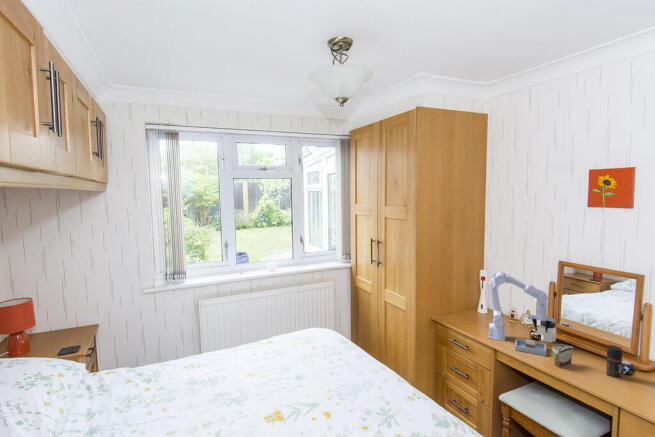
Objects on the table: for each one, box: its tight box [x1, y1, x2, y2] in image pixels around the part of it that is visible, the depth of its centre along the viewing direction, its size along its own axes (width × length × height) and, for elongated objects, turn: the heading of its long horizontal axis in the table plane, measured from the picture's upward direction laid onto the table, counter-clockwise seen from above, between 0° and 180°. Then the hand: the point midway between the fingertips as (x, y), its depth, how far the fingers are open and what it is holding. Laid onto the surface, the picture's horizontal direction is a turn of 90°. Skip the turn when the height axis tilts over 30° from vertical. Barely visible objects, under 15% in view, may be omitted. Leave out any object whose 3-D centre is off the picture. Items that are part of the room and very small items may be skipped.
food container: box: [551, 343, 574, 369], centre depth 186 cm, size 12×6×10 cm, turn 111°
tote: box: [514, 338, 547, 357], centre depth 204 cm, size 16×11×3 cm
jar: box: [539, 320, 557, 343], centre depth 216 cm, size 9×8×12 cm
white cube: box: [536, 324, 546, 336], centre depth 210 cm, size 4×4×4 cm
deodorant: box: [605, 344, 623, 379], centre depth 173 cm, size 6×6×15 cm
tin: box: [525, 338, 536, 349], centre depth 204 cm, size 5×5×4 cm
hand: (541, 331), depth 210 cm, fingers closed on white cube, 4 cm apart
